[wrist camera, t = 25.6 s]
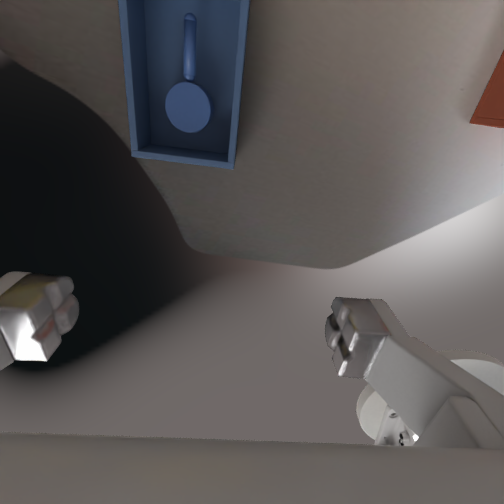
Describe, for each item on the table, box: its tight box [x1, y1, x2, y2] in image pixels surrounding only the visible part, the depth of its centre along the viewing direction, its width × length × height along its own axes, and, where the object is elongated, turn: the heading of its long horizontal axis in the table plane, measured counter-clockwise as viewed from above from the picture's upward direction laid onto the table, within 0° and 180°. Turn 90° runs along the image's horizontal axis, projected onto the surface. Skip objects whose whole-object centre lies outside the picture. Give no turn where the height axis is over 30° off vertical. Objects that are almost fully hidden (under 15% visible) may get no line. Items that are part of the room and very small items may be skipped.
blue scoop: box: [165, 13, 214, 133], centre depth 24 cm, size 9×4×3 cm, turn 173°
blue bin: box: [118, 0, 250, 169], centre depth 24 cm, size 13×9×5 cm
